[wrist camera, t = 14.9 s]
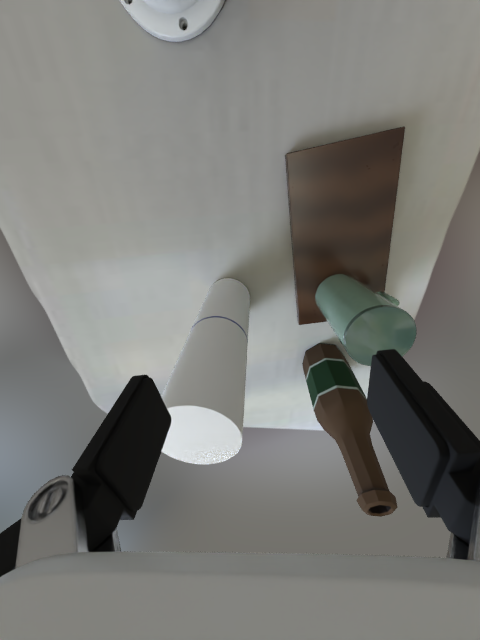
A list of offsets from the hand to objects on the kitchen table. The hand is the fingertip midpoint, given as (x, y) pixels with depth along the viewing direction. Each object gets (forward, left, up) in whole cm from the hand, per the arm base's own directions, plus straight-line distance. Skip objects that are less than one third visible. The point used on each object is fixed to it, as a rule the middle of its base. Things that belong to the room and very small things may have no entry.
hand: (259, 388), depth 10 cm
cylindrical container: (+8, -6, -28) cm, 30 cm away
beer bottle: (+23, +9, -28) cm, 38 cm away
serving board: (+2, +12, -28) cm, 31 cm away
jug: (+9, +12, -26) cm, 31 cm away
